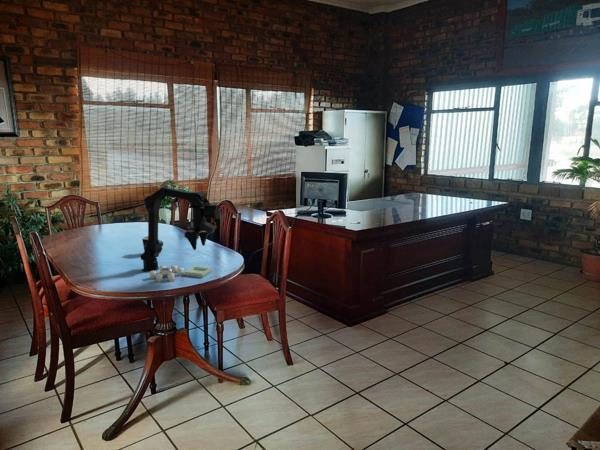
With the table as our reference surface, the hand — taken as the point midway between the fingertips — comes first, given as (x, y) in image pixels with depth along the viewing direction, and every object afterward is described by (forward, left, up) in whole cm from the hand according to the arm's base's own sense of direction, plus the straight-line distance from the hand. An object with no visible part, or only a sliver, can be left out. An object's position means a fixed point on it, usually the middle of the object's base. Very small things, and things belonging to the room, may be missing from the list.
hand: (199, 247), depth 223 cm
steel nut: (-14, -7, -15) cm, 22 cm away
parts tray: (-2, +2, -15) cm, 15 cm away
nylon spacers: (-14, -7, -15) cm, 22 cm away
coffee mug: (-43, +25, -15) cm, 52 cm away
